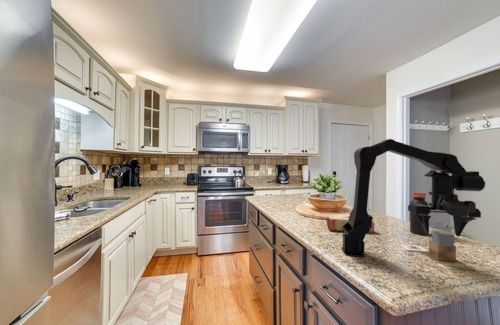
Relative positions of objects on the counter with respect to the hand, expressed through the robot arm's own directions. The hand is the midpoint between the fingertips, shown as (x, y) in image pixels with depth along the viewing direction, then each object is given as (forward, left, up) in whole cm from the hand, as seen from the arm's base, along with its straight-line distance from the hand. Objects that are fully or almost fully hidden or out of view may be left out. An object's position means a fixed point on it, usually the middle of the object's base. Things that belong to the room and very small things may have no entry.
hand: (442, 234), depth 71 cm
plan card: (-4, +9, -9) cm, 13 cm away
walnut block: (0, 0, -8) cm, 8 cm away
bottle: (+10, +31, -9) cm, 34 cm away
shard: (0, 0, -10) cm, 10 cm away
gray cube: (0, 0, -3) cm, 3 cm away
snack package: (-22, +28, -10) cm, 37 cm away
